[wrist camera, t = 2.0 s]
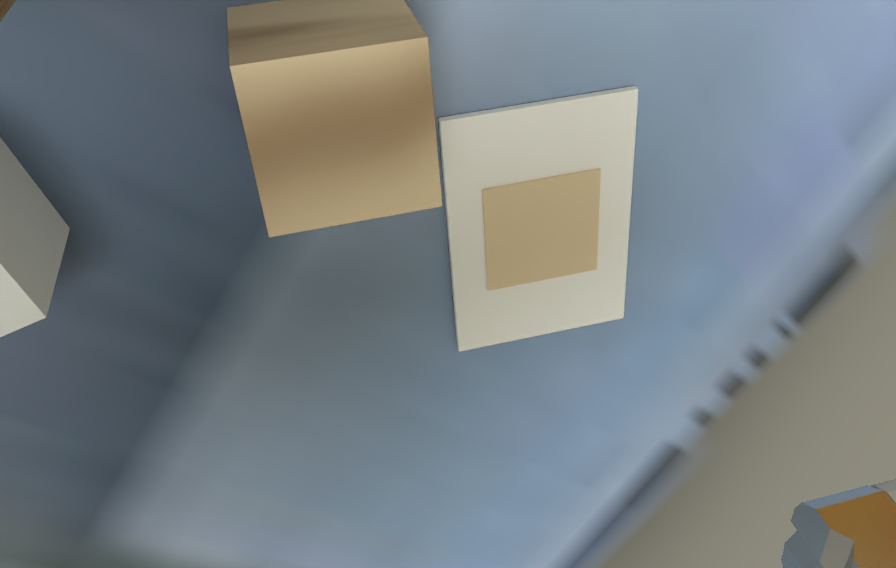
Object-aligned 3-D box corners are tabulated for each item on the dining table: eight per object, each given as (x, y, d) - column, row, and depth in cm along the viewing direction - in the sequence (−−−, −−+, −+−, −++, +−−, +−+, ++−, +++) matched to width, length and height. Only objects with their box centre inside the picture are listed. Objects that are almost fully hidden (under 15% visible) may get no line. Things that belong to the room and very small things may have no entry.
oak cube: (409, 135, 28) (442, 206, 24) (260, 159, 28) (269, 237, 24) (393, -17, 25) (427, 36, 21) (226, 6, 25) (229, 66, 21)
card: (620, 313, 35) (624, 319, 35) (457, 347, 34) (459, 353, 34) (634, 85, 29) (639, 89, 29) (438, 117, 28) (440, 122, 28)
